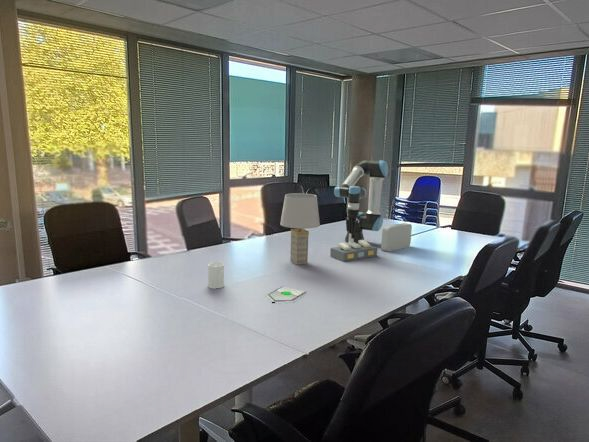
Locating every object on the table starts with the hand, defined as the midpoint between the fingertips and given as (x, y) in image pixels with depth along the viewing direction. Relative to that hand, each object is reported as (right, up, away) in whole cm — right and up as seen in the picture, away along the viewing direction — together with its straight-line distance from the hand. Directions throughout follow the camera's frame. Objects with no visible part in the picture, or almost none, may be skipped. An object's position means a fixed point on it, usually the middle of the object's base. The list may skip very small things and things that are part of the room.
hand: (350, 242), depth 285 cm
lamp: (-36, -12, -20) cm, 43 cm away
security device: (-45, -24, -80) cm, 94 cm away
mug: (-80, -20, -66) cm, 105 cm away
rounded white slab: (+37, -6, +23) cm, 44 cm away
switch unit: (+2, -9, -1) cm, 10 cm away
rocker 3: (+10, -1, +2) cm, 10 cm away
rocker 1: (-6, -2, -8) cm, 10 cm away
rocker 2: (+2, -2, -3) cm, 4 cm away
